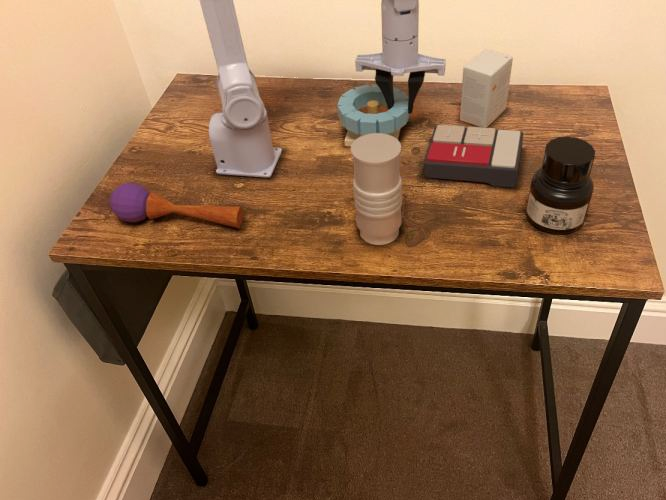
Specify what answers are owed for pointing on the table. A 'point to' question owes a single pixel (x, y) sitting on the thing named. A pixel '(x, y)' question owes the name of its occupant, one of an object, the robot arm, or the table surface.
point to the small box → (485, 88)
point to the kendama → (166, 207)
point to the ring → (372, 122)
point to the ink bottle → (562, 186)
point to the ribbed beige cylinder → (377, 187)
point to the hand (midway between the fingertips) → (400, 110)
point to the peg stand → (351, 136)
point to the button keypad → (474, 155)
